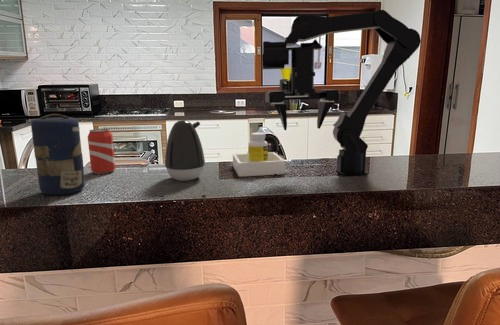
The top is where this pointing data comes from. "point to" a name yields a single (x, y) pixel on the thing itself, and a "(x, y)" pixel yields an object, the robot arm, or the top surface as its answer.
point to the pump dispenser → (184, 152)
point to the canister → (58, 154)
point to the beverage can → (101, 151)
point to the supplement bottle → (258, 148)
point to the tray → (258, 165)
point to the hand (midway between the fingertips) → (302, 129)
